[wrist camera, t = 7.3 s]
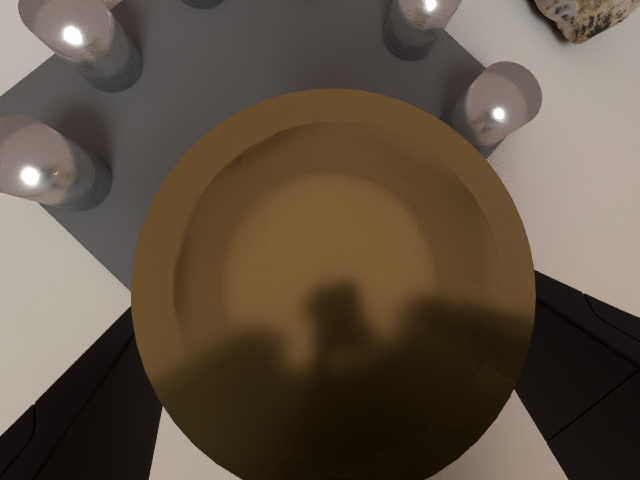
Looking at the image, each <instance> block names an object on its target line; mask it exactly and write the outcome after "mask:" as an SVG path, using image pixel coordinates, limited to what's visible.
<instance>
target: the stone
mask: <svg viewBox="0 0 640 480" xmlns="http://www.w3.org/2000/svg"><path fill="white" fill-rule="evenodd" d="M534 1H535V3H536V5H537V7H538V9H539V10H540V11H541V12H542V13H543V14H544V15H545V16H546V17H548V18H549V19H551V20H553V21H555V23H556V25H557V27H558V29H560V30H561V31H562V32H563V35H564V36H565V37H566V38H567V39H568V41H570V42H572V43H573V44H580V43H583V42H585V41H587V40H588V39H590V38H592V37H593V36H595V35H597V34H599V33H601V32H603V31H605V30H607V29H609V28H611V27H613V26H615V25H616V24H618V23H620V22H622V21H623V20H624V19H625V18H627V17H628V16H629V15H630V14H631V13H632V12H633V11H634V10H635V9H636V8H638V7H639V6H640V0H534Z"/></svg>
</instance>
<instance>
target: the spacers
mask: <svg viewBox="0 0 640 480" xmlns="http://www.w3.org/2000/svg"><path fill="white" fill-rule="evenodd" d="M181 1H182V2H183V3H185V4H186V5H188V6H190V7H193V8H196V9H210V8H214V7H216V6H218V5H220V4H221V3H222V2H223V1H224V0H181ZM308 1H314V0H308ZM461 1H462V0H393V3H392V6H391V8H390V11H389V14H388V17H387V19H386V22H385V25H384V28H383V40H384V43H385V46H386V47H387V49H388V50H389V51H390V52H391V53H392V54H393V55H394V56H396V57H397V58H399V59H402V60H405V61H418V60H421V59H423V58H425V57H426V56H427V55H428V54H429V53H430V52H431V50H432V49H433V47H434V45H435V44H436V42H437V41H438V39H439V37H440V36H441V34H442V32H443V31H444V29H445V27H446V26H447V24H448V23H449V21H450V19H451V18H452V16H453V14H454V13H455V11H456V10H457V8H458V6H459V5H460V3H461ZM18 9H19V14H20V17H21V19H22V21H23V23H24V24H25V26H26V27H27V28H28V29H29V30H30V31H31V32H32V33H33V34H35V35H36V36H37V37H38V38H39V39H40V40H41V41H42V42H43V43H44V44H46V45H47V46H48V47H49V48H50V49H51V50H52V51H53V52H54V53H56V54H57V55H58V56H59V57H60V58H61V59H62V60H63V61H64V62H65V63H67V64H68V65H69V66H70V67H71V68H72V69H73V70H74V71H75V72H77V73H78V74H79V75H80V76H81V77H82V78H83V79H84V80H85V81H86V82H88V83H89V84H90V85H91V86H92V87H94V88H95V89H97V90H100V91H103V92H109V93H116V92H121V91H124V90H126V89H128V88H130V87H132V86H133V85H134V84H135V83H136V82H137V81H138V80H139V78H140V76H141V74H142V71H143V58H142V56H141V54H140V52H139V50H138V49H137V48H136V46H135V45H134V43H133V42H132V41H131V39H130V38H129V36H128V35H127V33H126V32H125V31H124V29H123V28H122V26H121V25H120V24H119V22H118V21H117V19H116V18H115V17H114V15H113V14H112V12H111V11H110V10H109V8H108V7H107V5H106V4H105V3H104V1H103V0H19V4H18ZM541 103H542V93H541V89H540V86H539V83H538V81H537V80H536V78H535V77H534V75H533V74H532V73H531V72H530V71H529V70H527V69H526V68H525V67H523V66H521V65H519V64H517V63H513V62H498V63H495V64H492V65H490V66H489V67H487V68H486V69H485V70H484V71H483V72H482V73H481V74H480V76H479V77H478V78H477V79H476V80H475V81H474V82H473V83H472V84H471V85H470V86H469V87H468V88H467V89H466V90H465V92H464V93H463V94H462V95H461V96H460V97H459V98H458V99H457V100H456V101H455V102H454V103H453V104H452V105H451V106H450V107H449V109H448V110H447V111H446V112H445V113H444V114H443V116H442V118H441V121H442V122H444V123H445V124H447V125H448V126H450V127H451V128H452V129H454V130H455V131H456V132H457V133H459V134H460V135H461V136H462V137H463V138H465V139H466V140H467V141H468V142H469V143H470V144H471V145H472V146H473V147H474V148H475V149H476V150H477V151H478V152H479V153H481V152H483V151H484V150H486V149H487V148H489V147H491V146H492V145H494V144H495V143H497V142H498V141H500V140H501V139H503V138H505V137H506V136H508V135H509V134H511V133H512V132H514V131H515V130H517V129H519V128H520V127H522V126H523V125H525V124H526V123H528V122H529V121H531V120H532V119H533V118H534V117H535V116H536V115H537V113H538V112H539V110H540V107H541ZM112 181H113V180H112V172H111V169H110V167H109V166H108V164H107V163H106V162H105V161H104V160H103V159H102V158H101V157H100V156H98V155H96V154H95V153H93V152H91V151H89V150H88V149H86V148H84V147H83V146H81V145H79V144H77V143H76V142H74V141H72V140H71V139H69V138H67V137H65V136H64V135H62V134H60V133H59V132H57V131H55V130H53V129H52V128H50V127H48V126H47V125H45V124H43V123H41V122H40V121H38V120H36V119H34V118H31V117H28V116H23V115H8V116H3V117H0V192H1V193H5V194H9V195H13V196H16V197H20V198H24V199H28V200H31V201H35V202H39V203H43V204H46V205H50V206H54V207H58V208H61V209H65V210H69V211H75V212H80V211H86V210H90V209H92V208H94V207H96V206H98V205H99V204H100V203H102V202H103V201H104V200H105V199H106V197H107V196H108V194H109V192H110V190H111V187H112Z"/></svg>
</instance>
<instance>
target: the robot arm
mask: <svg viewBox="0 0 640 480" xmlns="http://www.w3.org/2000/svg"><path fill="white" fill-rule="evenodd" d="M534 273H535V291H536V302H535V317H534V326H533V331H532V336H531V342H530V347H529V351H528V354H527V357H526V360H525V363H524V366H523V369H522V372H521V375H520V377H519V379H518V381H517V383H516V385H515V387H514V390H515V391H516V393H517V395H518V396H519V398H520V400H521V401H522V403H523V405H524V406H525V408H526V410H527V411H528V413H529V414H530V416H531V418H532V419H533V421H534V423H535V424H536V426H537V428H538V429H539V431H540V433H541V434H542V436H543V438H544V439H545V441H546V442H547V445H548V446H549V448H550V450H551V451H552V453H553V455H554V456H555V458H556V460H557V461H558V463H559V465H560V466H561V468H562V470H563V471H564V473H565V475H566V476H567V478H568V480H640V318H639V317H636V316H634V315H632V314H629V313H627V312H625V311H622V310H620V309H618V308H616V307H613V306H611V305H609V304H607V303H605V302H602V301H600V300H598V299H596V298H594V297H592V296H589V295H587V294H583V293H582V292H581V291H579V290H576V289H574V288H572V287H570V286H568V285H566V284H564V283H561V282H559V281H557V280H555V279H553V278H551V277H549V276H546V275H544V274H542V273H540V272H538V271H536V270H534ZM162 407H163V405H162V403H161V402H160V400H159V399H158V397H157V395H156V393H155V391H154V389H153V387H152V384H151V382H150V380H149V378H148V376H147V374H146V372H145V369H144V366H143V363H142V359H141V356H140V353H139V350H138V347H137V343H136V337H135V331H134V325H133V319H132V308H131V306H130V307H129V308H128V309H127V310H126V311H125V312H124V313H123V314H122V315H121V316H120V317H119V318H118V319H117V320H116V321H115V322H114V323H113V324H112V325H111V326H110V327H109V328H108V329H107V330H106V331H105V332H104V333H103V334H102V335H101V336H100V337H99V338H98V339H97V340H96V341H95V342H94V343H93V344H92V345H91V346H90V347H89V348H88V349H87V350H86V351H85V352H84V353H83V354H82V355H81V356H80V357H79V358H78V359H77V360H76V361H75V362H74V363H73V364H72V365H71V366H70V367H69V368H68V369H67V370H66V371H65V372H64V373H63V374H62V375H61V376H60V377H59V378H58V379H57V380H56V381H55V382H54V383H53V384H52V385H51V386H50V387H49V388H48V389H47V390H46V392H45V393H44V394H43V395H42V396H41V397H40V398H39V399H38V400H37V401H36V402H35V404H34V405H31V406H30V407H29V408H28V409H27V410H26V411H25V412H24V413H23V414H22V415H21V416H20V417H19V418H18V419H17V420H16V421H15V422H14V423H13V424H12V425H11V426H10V427H9V428H8V429H7V430H6V431H5V432H4V433H3V434H2V435H1V436H0V480H149V475H150V470H151V465H152V460H153V454H154V449H155V444H156V439H157V433H158V428H159V423H160V418H161V412H162Z"/></svg>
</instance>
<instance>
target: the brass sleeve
mask: <svg viewBox="0 0 640 480" xmlns="http://www.w3.org/2000/svg"><path fill="white" fill-rule="evenodd" d="M535 302H536V291H535V273H534V267H533V261H532V255H531V250H530V245H529V242H528V239H527V235H526V232H525V229H524V225H523V222H522V220H521V218H520V215H519V213H518V211H517V209H516V206H515V204H514V202H513V200H512V198H511V196H510V194H509V193H508V191H507V189H506V188H505V186H504V184H503V183H502V181H501V179H500V178H499V176H498V175H497V174H496V172H495V171H494V170H493V169H492V167H491V166H490V165H489V163H488V162H487V161H486V159H485V158H484V157H483V156H482V155H481V154H480V153H479V152H478V151H477V150H476V149H475V148H474V147H473V146H472V145H471V144H470V143H469V142H468V141H467V140H466V139H465V138H463V137H462V136H461V135H460V134H459V133H457V132H456V131H455V130H454V129H452V128H451V127H450V126H448V125H447V124H445V123H444V122H442V121H441V120H439V119H437V118H436V117H434V116H433V115H431V114H430V113H427V112H425V111H423V110H421V109H419V108H417V107H415V106H413V105H411V104H409V103H406V102H403V101H400V100H397V99H394V98H392V97H389V96H386V95H381V94H376V93H372V92H367V91H362V90H352V89H340V88H331V89H311V90H305V91H299V92H292V93H287V94H284V95H280V96H277V97H274V98H270V99H267V100H264V101H262V102H259V103H257V104H255V105H252V106H250V107H248V108H246V109H243V110H241V111H239V112H238V113H236V114H234V115H233V116H231V117H229V118H228V119H226V120H224V121H223V122H221V123H219V124H218V125H217V126H216V127H214V128H213V129H212V130H211V131H209V132H208V133H207V134H205V135H204V136H203V137H202V138H200V139H199V140H198V141H197V142H196V143H195V144H194V145H193V146H192V147H191V148H190V149H189V150H188V151H187V152H186V153H185V154H184V156H183V157H182V158H181V159H180V160H179V161H178V163H177V164H176V165H175V167H174V168H173V169H172V171H171V172H170V173H169V175H168V176H167V177H166V179H165V180H164V182H163V184H162V185H161V187H160V189H159V191H158V192H157V194H156V196H155V198H154V200H153V201H152V203H151V205H150V208H149V210H148V213H147V215H146V218H145V220H144V223H143V226H142V228H141V231H140V235H139V239H138V243H137V247H136V251H135V255H134V262H133V271H132V280H131V308H132V319H133V325H134V331H135V337H136V343H137V347H138V350H139V353H140V356H141V359H142V363H143V366H144V369H145V372H146V374H147V376H148V378H149V380H150V382H151V384H152V387H153V389H154V391H155V393H156V395H157V397H158V399H159V400H160V402H161V403H162V405H163V406H164V408H165V409H166V411H167V412H168V414H169V415H170V417H171V418H172V420H173V421H174V423H175V424H176V425H177V426H178V427H179V429H180V430H181V431H182V432H183V433H184V434H185V435H186V436H187V437H188V439H189V440H190V441H191V442H192V443H193V444H194V445H195V446H196V447H197V448H198V449H200V450H201V451H202V452H203V453H204V454H206V455H207V456H208V457H209V458H210V459H212V460H213V461H214V462H215V463H216V464H218V465H219V466H221V467H223V468H224V469H226V470H227V471H229V472H231V473H232V474H234V475H236V476H237V477H239V478H240V479H242V480H425V479H427V478H429V477H431V476H433V475H435V474H436V473H438V472H439V471H441V470H442V469H444V468H445V467H447V466H448V465H450V464H451V463H452V462H454V461H455V460H457V459H458V458H459V457H460V456H461V455H463V454H464V453H465V452H466V451H467V450H468V449H469V448H470V447H471V446H472V445H474V444H475V443H476V442H477V441H478V440H479V439H480V437H481V436H482V435H483V434H484V433H485V432H486V430H487V429H488V428H489V427H490V426H491V424H492V423H493V422H494V421H495V420H496V418H497V417H498V415H499V413H500V412H501V410H502V409H503V407H504V406H505V404H506V402H507V401H508V399H509V398H510V396H511V394H512V392H513V389H514V387H515V385H516V383H517V381H518V379H519V377H520V375H521V372H522V369H523V366H524V363H525V360H526V357H527V354H528V351H529V347H530V342H531V336H532V331H533V326H534V317H535Z"/></svg>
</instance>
